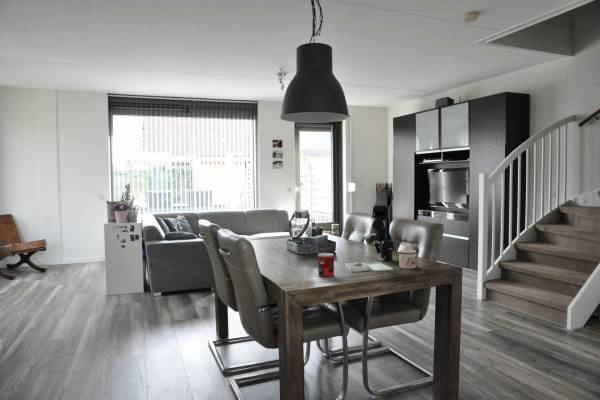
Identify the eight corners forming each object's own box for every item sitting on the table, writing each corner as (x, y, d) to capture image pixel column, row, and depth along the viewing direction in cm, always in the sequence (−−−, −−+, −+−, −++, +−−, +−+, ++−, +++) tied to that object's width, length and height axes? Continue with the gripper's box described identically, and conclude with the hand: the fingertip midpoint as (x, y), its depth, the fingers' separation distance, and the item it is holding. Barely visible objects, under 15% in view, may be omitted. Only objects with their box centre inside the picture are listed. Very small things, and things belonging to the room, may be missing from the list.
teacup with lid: (407, 270, 225) (407, 248, 224) (395, 267, 233) (395, 246, 232) (424, 267, 231) (423, 246, 230) (411, 264, 239) (411, 243, 238)
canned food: (317, 274, 221) (317, 253, 220) (332, 273, 221) (332, 252, 221) (319, 277, 213) (318, 255, 212) (335, 277, 214) (334, 255, 213)
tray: (378, 264, 241) (378, 262, 241) (393, 271, 224) (393, 268, 224) (362, 265, 239) (362, 263, 239) (375, 272, 222) (375, 270, 222)
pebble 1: (360, 268, 228) (360, 261, 228) (363, 270, 224) (363, 262, 224) (353, 269, 227) (353, 261, 227) (356, 270, 223) (356, 263, 223)
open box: (362, 267, 234) (362, 262, 234) (369, 271, 224) (369, 265, 224) (344, 269, 231) (344, 263, 231) (351, 273, 222) (351, 267, 221)
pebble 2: (383, 259, 229) (382, 251, 228) (386, 260, 225) (386, 253, 225) (376, 259, 228) (375, 252, 227) (379, 261, 224) (379, 253, 224)
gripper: (359, 227, 232) (359, 255, 233) (373, 231, 214) (374, 262, 215) (378, 226, 235) (379, 254, 236) (394, 230, 217) (394, 260, 218)
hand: (381, 257), depth 226 cm, fingers closed on pebble 2, 4 cm apart
